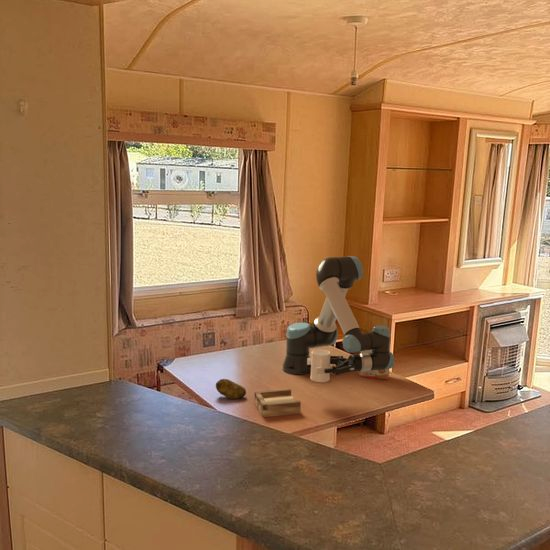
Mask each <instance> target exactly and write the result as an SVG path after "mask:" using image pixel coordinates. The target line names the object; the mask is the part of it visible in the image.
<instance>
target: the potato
mask: <svg viewBox="0 0 550 550" xmlns="http://www.w3.org/2000/svg"><path fill="white" fill-rule="evenodd" d="M215 388H216V391H217V392H218V393H219V395H222V396H224V397H225V398H227V399H232V400H237V399H238V400H239V399H241V398H243V397H245V396H246V394H247V389H246V388H245V387H244V386H242V385H241V384H239V383H236V382H234V381H232V380H230V379H227V378H222V379H219V380H217V382H216V383H215Z"/></svg>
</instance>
